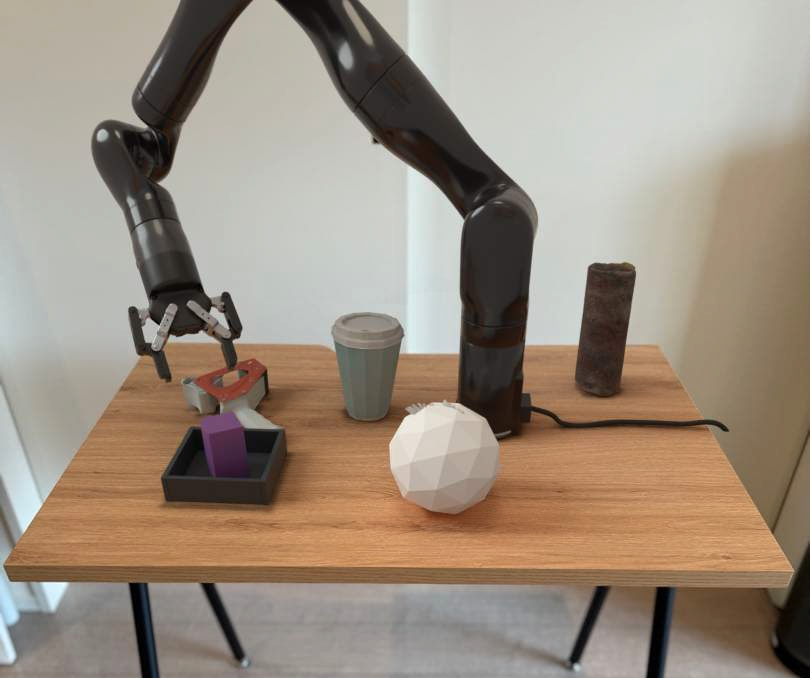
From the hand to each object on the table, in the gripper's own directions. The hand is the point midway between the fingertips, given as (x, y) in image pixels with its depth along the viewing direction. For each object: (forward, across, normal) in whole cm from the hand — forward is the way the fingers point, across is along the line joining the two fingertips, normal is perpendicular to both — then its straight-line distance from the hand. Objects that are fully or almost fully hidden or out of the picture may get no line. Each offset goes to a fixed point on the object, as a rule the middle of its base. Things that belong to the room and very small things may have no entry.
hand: (201, 374), depth 107 cm
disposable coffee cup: (+8, +25, +9) cm, 28 cm away
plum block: (+14, 0, +2) cm, 14 cm away
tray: (+14, 0, +3) cm, 15 cm away
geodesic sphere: (+27, +23, -10) cm, 37 cm away
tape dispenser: (+3, +6, +15) cm, 16 cm away
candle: (+14, +62, +3) cm, 63 cm away
